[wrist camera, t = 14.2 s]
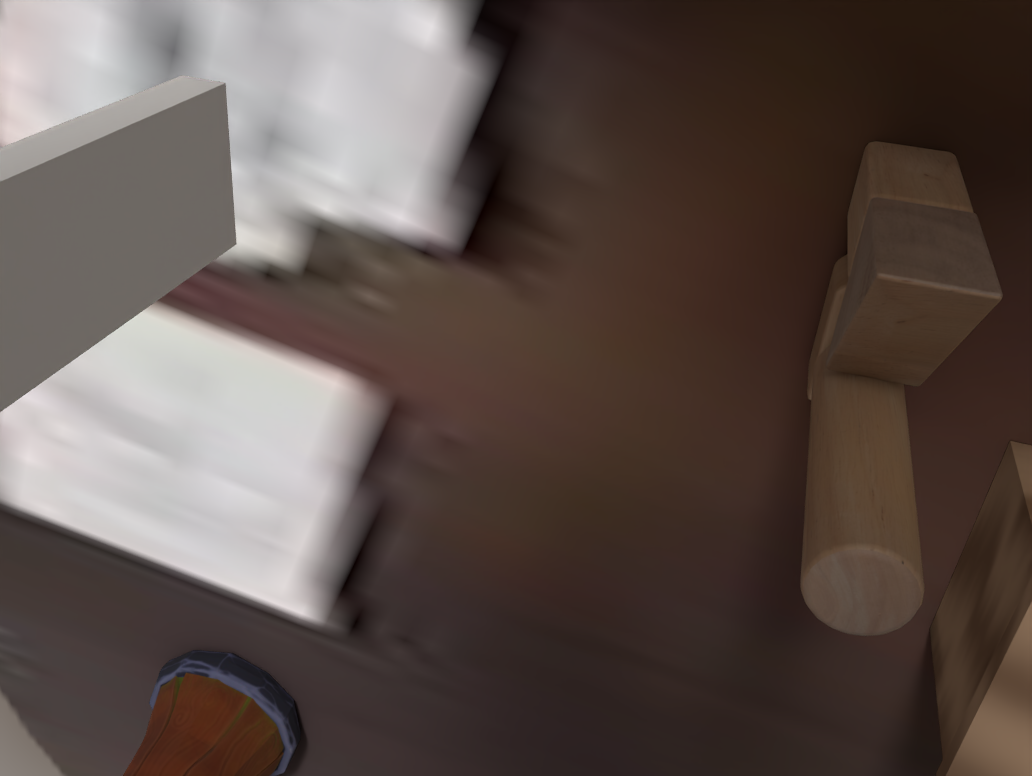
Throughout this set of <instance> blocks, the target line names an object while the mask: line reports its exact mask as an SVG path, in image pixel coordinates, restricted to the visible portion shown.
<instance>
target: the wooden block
mask: <svg viewBox="0 0 1032 776" xmlns="http://www.w3.org/2000/svg"><path fill="white" fill-rule="evenodd" d="M847 237H848V254H847V255H845V256H843V257H842V258H840V259H839V260H838V261H836V263H835V265H834V268H833V272H832V276H831V279H830V283H829V287H828V291H827V295H826V299H825V302H824V306H823V310H822V314H821V318H820V321H819V325H818V329H817V333H816V337H815V341H814V344H813V348H812V352H811V356H810V360H809V369H808V383H807V396H808V399H809V400H811V414H810V431H809V448H808V465H807V481H806V498H805V515H804V532H803V549H802V565H801V582H800V589H801V592H802V595H803V598H804V601H805V603H806V605H807V606H808V607H809V609H810V610H811V611H812V612H813V614H814V615H815V616H816V617H817V618H818V619H819V620H820V621H822V622H823V623H825V624H826V625H828V626H829V627H831V628H833V629H836V630H838V631H841V632H844V633H846V634H852V635H860V636H873V635H883V634H886V633H889V632H891V631H894V630H897V629H899V628H901V627H902V626H903V625H905V624H906V623H907V622H909V621H910V620H911V619H912V618H913V616H914V615H915V613H916V612H917V610H918V609H919V607H920V606H921V604H922V602H923V595H924V589H925V588H924V578H923V568H922V558H921V548H920V538H919V529H918V519H917V509H916V499H915V489H914V479H913V469H912V459H911V449H910V439H909V429H908V419H907V409H906V399H905V389H904V384H905V385H910V386H915V387H917V386H920V385H921V384H922V383H923V382H924V381H925V380H926V379H927V378H928V377H929V376H930V375H931V374H932V373H933V372H934V371H935V370H936V368H937V367H938V366H939V365H940V364H941V363H942V362H943V361H944V360H945V359H946V358H947V357H948V356H949V355H950V354H951V353H952V352H953V350H954V349H955V348H956V347H957V346H958V345H959V344H960V343H961V342H962V341H963V340H964V339H965V338H966V337H967V336H968V335H969V333H970V332H971V331H972V330H973V329H974V328H975V327H976V326H977V325H978V324H979V323H980V322H981V321H982V320H983V319H984V318H985V317H986V315H987V314H988V313H989V312H990V311H991V310H992V309H993V308H994V307H995V306H996V305H997V304H998V303H999V302H1000V301H1001V299H1002V296H1003V294H1002V291H1001V287H1000V284H999V281H998V278H997V275H996V272H995V269H994V266H993V263H992V260H991V256H990V253H989V250H988V247H987V244H986V241H985V238H984V235H983V232H982V229H981V225H980V222H979V219H978V216H977V215H976V214H975V213H973V208H972V205H971V202H970V199H969V196H968V193H967V189H966V186H965V183H964V180H963V177H962V174H961V171H960V167H959V164H958V161H957V158H956V155H954V154H952V153H951V152H946V151H940V150H933V149H926V148H919V147H913V146H906V145H899V144H892V143H886V142H879V141H874V142H870V143H868V145H867V146H866V147H865V149H864V153H863V157H862V161H861V164H860V168H859V172H858V176H857V180H856V184H855V187H854V191H853V195H852V199H851V203H850V206H849V210H848V214H847Z"/></svg>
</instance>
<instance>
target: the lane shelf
mask: <svg viewBox="0 0 1032 776" xmlns="http://www.w3.org/2000/svg"><path fill="white" fill-rule="evenodd" d="M930 638H931V648H932V658H933V668H934V677H935V687H936V697H937V707H938V716H939V726H940V736H941V746H942V755H943V760H942V762H941V764H940V766H939V768H938V770H937V772H936V776H1032V445H1027V444H1023V443H1018V442H1013V441H1010V442H1009V444H1008V447H1007V449H1006V451H1005V454H1004V456H1003V458H1002V461H1001V463H1000V465H999V468H998V470H997V472H996V475H995V477H994V480H993V482H992V484H991V487H990V489H989V491H988V494H987V496H986V498H985V501H984V503H983V505H982V508H981V510H980V512H979V515H978V517H977V519H976V522H975V524H974V526H973V529H972V531H971V533H970V536H969V538H968V540H967V543H966V545H965V547H964V550H963V552H962V554H961V557H960V559H959V561H958V564H957V566H956V568H955V571H954V573H953V575H952V578H951V580H950V582H949V585H948V587H947V589H946V592H945V594H944V596H943V599H942V601H941V604H940V606H939V608H938V611H937V613H936V615H935V618H934V620H933V622H932V625H931V627H930Z"/></svg>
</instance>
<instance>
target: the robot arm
mask: <svg viewBox="0 0 1032 776" xmlns="http://www.w3.org/2000/svg"><path fill="white" fill-rule="evenodd" d="M234 245H236V232H235V217H234V202H233V187H232V173H231V158H230V143H229V129H228V114H227V99H226V85H225V83H222V82H217V81H211V80H205V79H199V78H194V77H188V76H180V77H177V78H175V79H172V80H170V81H167V82H165V83H162V84H160V85H157V86H154V87H152V88H149V89H147V90H144V91H142V92H139V93H137V94H134V95H132V96H129V97H127V98H124V99H122V100H119V101H117V102H114V103H112V104H109V105H107V106H104V107H102V108H99V109H97V110H94V111H92V112H89V113H87V114H84V115H82V116H79V117H77V118H74V119H72V120H69V121H67V122H64V123H62V124H59V125H57V126H54V127H52V128H49V129H47V130H44V131H42V132H39V133H37V134H34V135H32V136H29V137H27V138H24V139H22V140H19V141H16V142H14V143H11V144H9V145H6V146H4V147H1V148H0V412H1V411H2V410H4V409H5V408H7V407H8V406H9V405H11V404H12V403H14V402H15V401H16V400H18V399H19V398H21V397H22V396H23V395H25V394H26V393H28V392H29V391H31V390H32V389H33V388H35V387H36V386H38V385H39V384H40V383H42V382H43V381H45V380H46V379H47V378H49V377H50V376H52V375H53V374H54V373H56V372H57V371H59V370H60V369H61V368H63V367H64V366H66V365H67V364H69V363H70V362H71V361H73V360H74V359H76V358H77V357H78V356H80V355H81V354H83V353H84V352H85V351H87V350H88V349H90V348H91V347H92V346H94V345H95V344H97V343H98V342H99V341H101V340H102V339H104V338H105V337H106V336H108V335H109V334H111V333H112V332H114V331H115V330H116V329H118V328H119V327H121V326H122V325H123V324H125V323H126V322H128V321H129V320H130V319H132V318H133V317H135V316H136V315H137V314H139V313H140V312H142V311H143V310H144V309H146V308H147V307H149V306H150V305H152V304H153V303H154V302H156V301H157V300H159V299H160V298H161V297H163V296H164V295H166V294H167V293H168V292H170V291H171V290H173V289H174V288H175V287H177V286H178V285H180V284H181V283H182V282H184V281H185V280H187V279H188V278H189V277H191V276H192V275H194V274H195V273H197V272H198V271H199V270H201V269H202V268H204V267H205V266H206V265H208V264H209V263H211V262H212V261H213V260H215V259H216V258H218V257H219V256H220V255H222V254H223V253H225V252H226V251H227V250H229V249H230V248H232V247H233V246H234Z"/></svg>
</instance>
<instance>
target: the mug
mask: <svg viewBox="0 0 1032 776" xmlns="http://www.w3.org/2000/svg"><path fill="white" fill-rule="evenodd" d="M149 704H150V706H151V708H152V710H153V711H152V714H151V717H150V721H149V724H148V728H147V732H146V736H145V738H144V740H143V742H142V744H141V746H140V748H139V749H138V751H137V753H136V755H135V756H134V758H133V760H132V762H131V763H130V765H129V767H128V768H127V770H126V771H125V773H124V775H123V776H277V775H279V774H282V773H284V772H285V770H286V768H287V767H288V765H289V763H290V761H291V759H292V756H293V754H294V752H295V749H296V747H297V745H298V743H299V740H300V734H301V731H300V727H299V723H298V718H297V714H296V709H295V704H294V699H293V698H292V697H291V696H290V695H289V694H288V693H287V692H286V691H285V690H284V689H283V688H282V687H281V686H280V685H279V684H278V683H277V682H276V681H275V680H274V679H273V678H272V677H271V676H270V675H269V674H268V673H267V672H265V671H263V670H261V669H260V668H258V667H256V666H254V665H253V664H251V663H249V662H247V661H246V660H244V659H242V658H240V657H239V656H237V655H235V654H233V653H223V652H211V651H199V650H193V651H191V652H189V653H186V654H184V655H181V656H179V657H177V658H174V659H172V660H170V661H169V662H168V663H166V664H165V665H164V666H163V668H162V669H161V671H160V673H159V676H158V679H157V682H156V685H155V688H154V690H153V693H152V696H151V699H150V702H149Z"/></svg>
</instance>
